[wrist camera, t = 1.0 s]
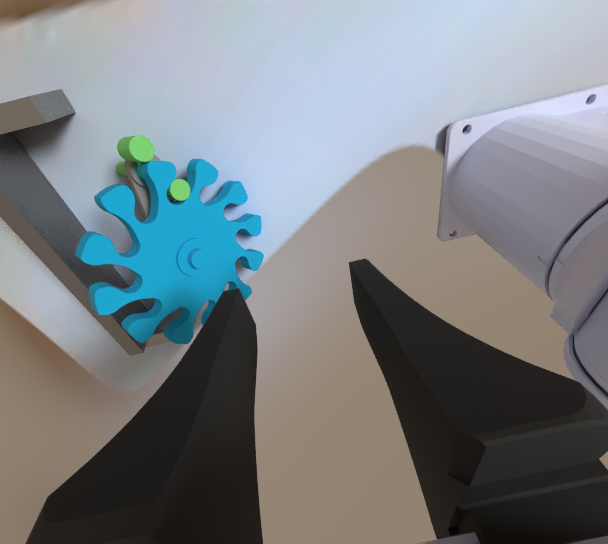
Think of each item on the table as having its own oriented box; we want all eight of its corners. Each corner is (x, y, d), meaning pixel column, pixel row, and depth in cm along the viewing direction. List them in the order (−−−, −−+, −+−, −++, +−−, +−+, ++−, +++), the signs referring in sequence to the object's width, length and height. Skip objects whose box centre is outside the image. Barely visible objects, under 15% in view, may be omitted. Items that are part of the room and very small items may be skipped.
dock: (61, 89, 14) (21, 98, 12) (197, 312, 24) (190, 341, 21) (-28, 112, 14) (-85, 125, 12) (143, 324, 24) (130, 355, 21)
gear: (282, 289, 21) (147, 390, 15) (231, 271, 25) (105, 345, 19) (245, 116, 16) (7, 160, 9) (186, 124, 19) (-15, 160, 13)
